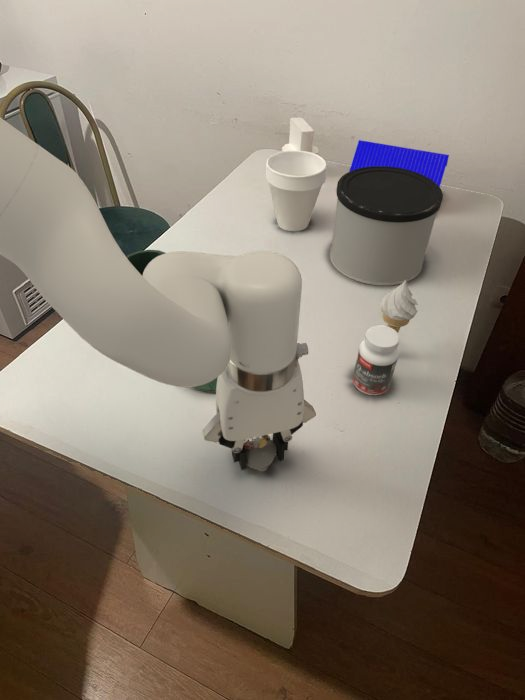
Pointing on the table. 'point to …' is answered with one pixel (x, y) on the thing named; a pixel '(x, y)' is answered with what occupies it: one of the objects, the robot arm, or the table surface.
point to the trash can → (143, 258)
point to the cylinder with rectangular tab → (300, 136)
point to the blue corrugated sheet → (400, 159)
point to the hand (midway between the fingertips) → (259, 455)
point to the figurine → (260, 452)
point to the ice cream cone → (398, 307)
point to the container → (383, 224)
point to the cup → (295, 186)
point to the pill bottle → (376, 360)
